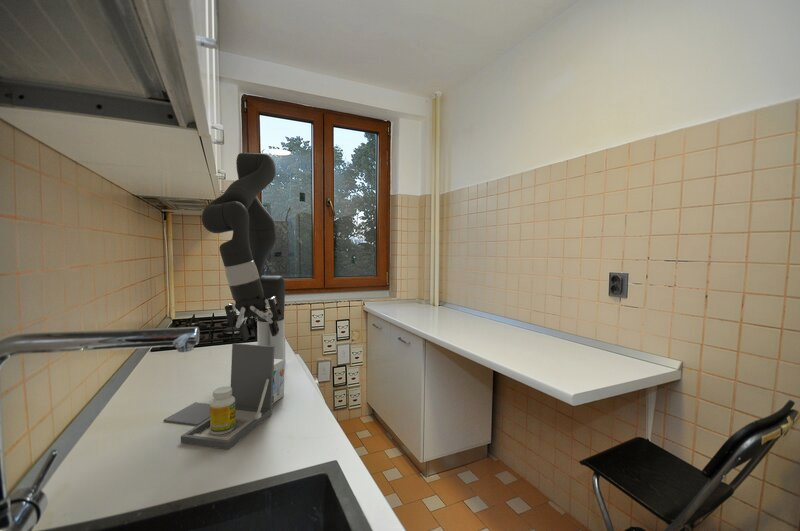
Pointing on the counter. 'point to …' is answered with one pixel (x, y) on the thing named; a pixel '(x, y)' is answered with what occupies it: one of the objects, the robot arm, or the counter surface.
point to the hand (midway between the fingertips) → (260, 337)
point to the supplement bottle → (222, 411)
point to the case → (243, 395)
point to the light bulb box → (278, 380)
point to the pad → (191, 414)
